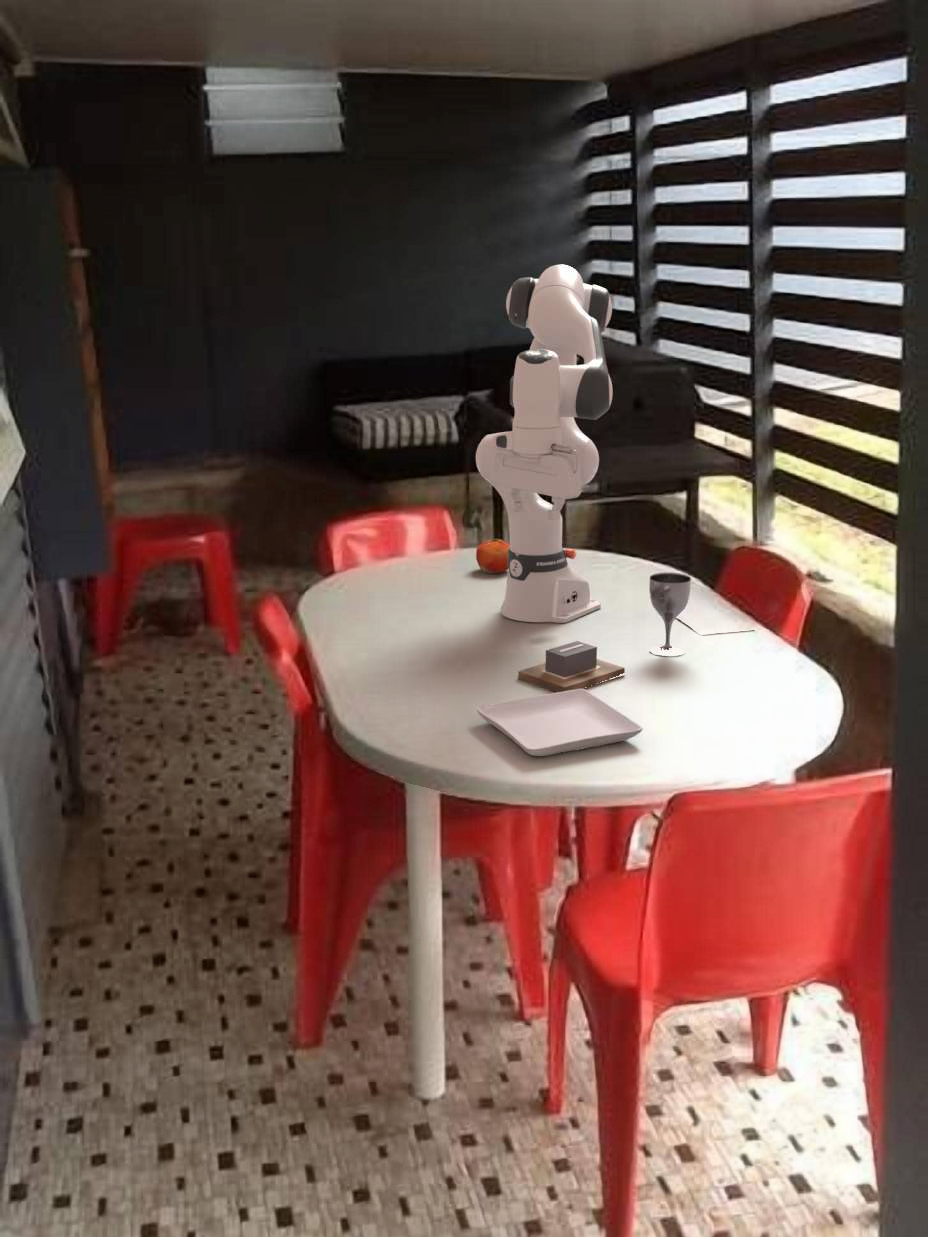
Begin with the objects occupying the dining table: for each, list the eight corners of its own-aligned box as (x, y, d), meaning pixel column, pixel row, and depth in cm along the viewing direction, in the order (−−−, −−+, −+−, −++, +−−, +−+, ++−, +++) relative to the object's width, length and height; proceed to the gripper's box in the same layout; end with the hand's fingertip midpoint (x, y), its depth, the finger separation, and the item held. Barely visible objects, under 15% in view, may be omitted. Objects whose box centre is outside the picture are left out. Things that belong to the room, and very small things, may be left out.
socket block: (576, 661, 259) (577, 640, 257) (596, 667, 255) (596, 646, 254) (545, 670, 253) (545, 649, 252) (564, 677, 250) (565, 655, 248)
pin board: (577, 660, 264) (578, 639, 263) (624, 675, 256) (625, 654, 254) (518, 678, 254) (518, 657, 253) (564, 695, 245) (565, 673, 244)
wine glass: (695, 651, 269) (699, 577, 265) (672, 660, 264) (675, 585, 260) (662, 642, 275) (665, 570, 270) (638, 651, 269) (641, 578, 265)
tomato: (500, 578, 323) (501, 545, 320) (468, 572, 327) (468, 540, 325) (521, 569, 330) (521, 537, 328) (488, 564, 335) (488, 532, 332)
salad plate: (529, 768, 215) (529, 748, 214) (473, 723, 233) (473, 705, 232) (645, 747, 223) (646, 727, 222) (582, 705, 241) (582, 687, 240)
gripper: (590, 446, 244) (588, 522, 248) (511, 432, 259) (510, 504, 263) (565, 450, 240) (564, 527, 244) (486, 436, 255) (486, 509, 259)
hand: (535, 515), depth 253 cm, fingers open, 8 cm apart
